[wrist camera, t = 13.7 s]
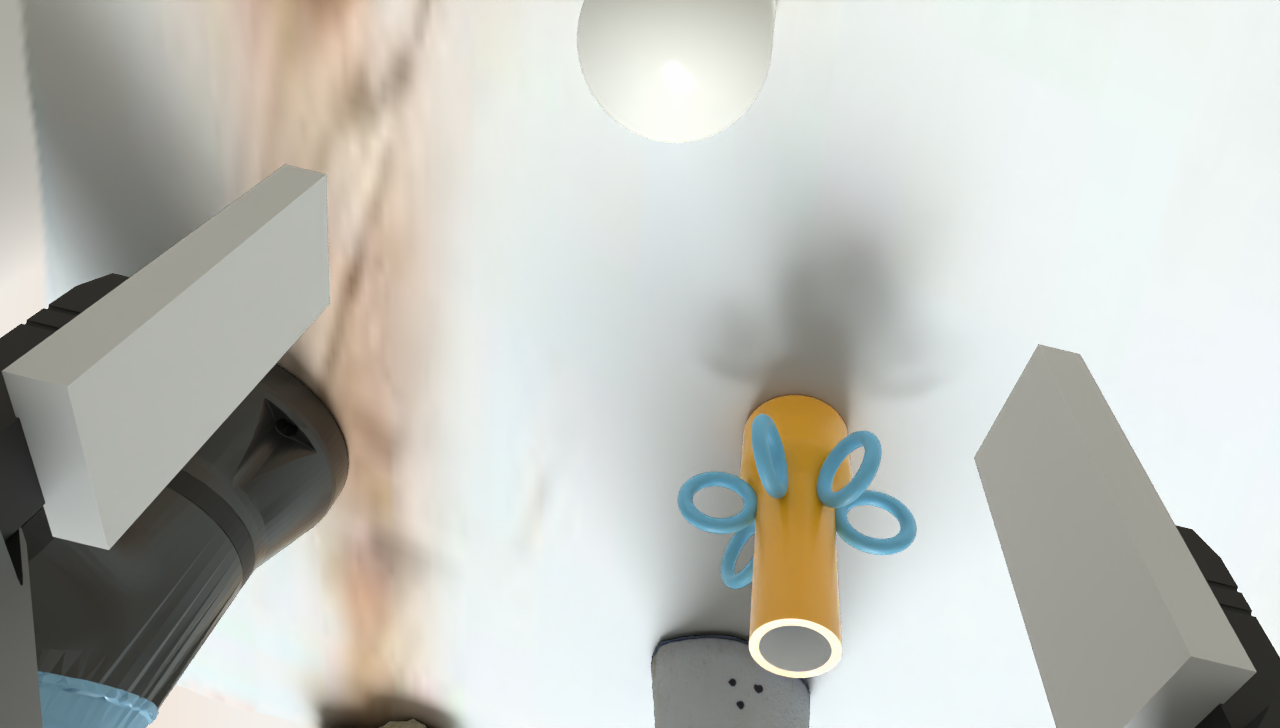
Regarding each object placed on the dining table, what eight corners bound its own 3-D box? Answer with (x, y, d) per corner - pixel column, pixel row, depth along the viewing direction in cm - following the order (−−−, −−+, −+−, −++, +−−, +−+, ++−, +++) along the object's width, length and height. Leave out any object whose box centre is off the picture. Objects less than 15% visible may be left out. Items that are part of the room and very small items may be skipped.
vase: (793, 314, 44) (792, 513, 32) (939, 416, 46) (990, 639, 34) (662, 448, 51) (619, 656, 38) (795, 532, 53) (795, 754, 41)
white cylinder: (601, 59, 38) (560, 113, 32) (637, -111, 34) (599, -89, 28) (747, 102, 38) (737, 165, 32) (800, -62, 34) (800, -28, 28)
